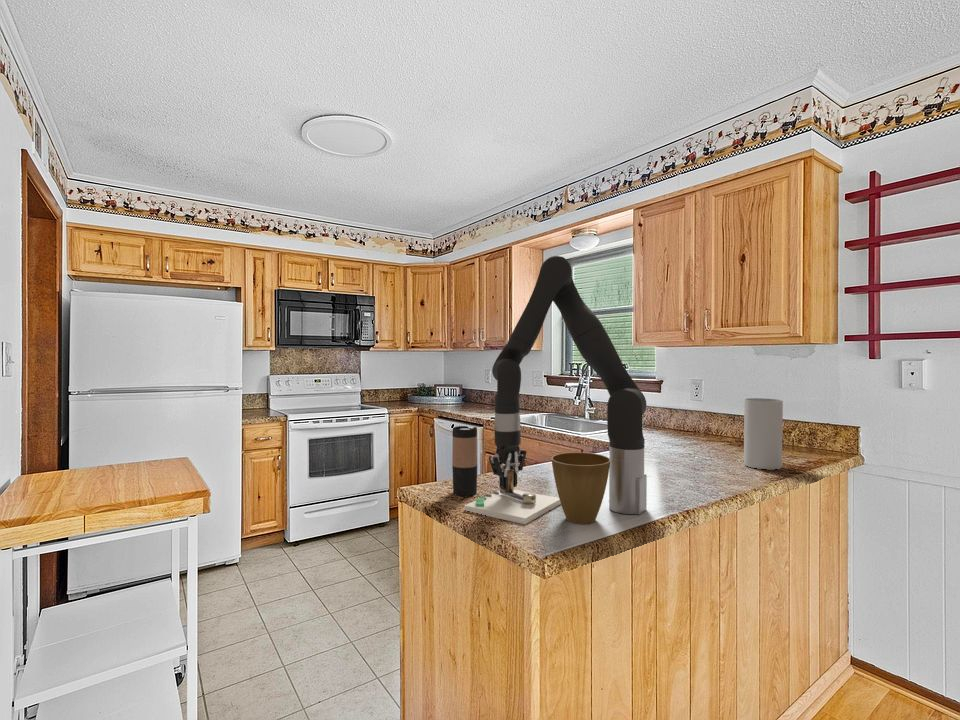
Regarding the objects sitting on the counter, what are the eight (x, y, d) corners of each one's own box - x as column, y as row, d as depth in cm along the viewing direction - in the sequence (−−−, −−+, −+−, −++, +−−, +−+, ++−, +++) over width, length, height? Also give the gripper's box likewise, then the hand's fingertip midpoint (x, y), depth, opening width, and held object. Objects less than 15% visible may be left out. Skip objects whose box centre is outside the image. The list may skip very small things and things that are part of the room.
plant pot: (546, 511, 140) (546, 452, 139) (600, 510, 141) (600, 451, 140) (558, 530, 125) (558, 464, 125) (618, 529, 126) (618, 463, 126)
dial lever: (538, 502, 141) (538, 477, 141) (528, 505, 139) (528, 479, 139) (506, 491, 152) (506, 467, 152) (496, 493, 150) (496, 469, 150)
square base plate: (561, 503, 147) (561, 495, 147) (525, 524, 129) (525, 515, 129) (503, 492, 158) (503, 485, 158) (462, 510, 140) (462, 502, 140)
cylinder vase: (736, 464, 196) (736, 399, 195) (759, 461, 200) (760, 397, 200) (765, 472, 184) (766, 402, 184) (789, 468, 189) (790, 400, 188)
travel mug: (455, 497, 153) (455, 430, 152) (450, 490, 160) (449, 426, 160) (480, 495, 155) (480, 429, 154) (473, 489, 162) (473, 425, 162)
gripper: (499, 433, 140) (500, 495, 141) (533, 426, 150) (534, 485, 150) (480, 430, 146) (481, 490, 146) (514, 424, 155) (515, 480, 156)
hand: (508, 487), depth 148 cm, fingers closed on dial lever, 3 cm apart
